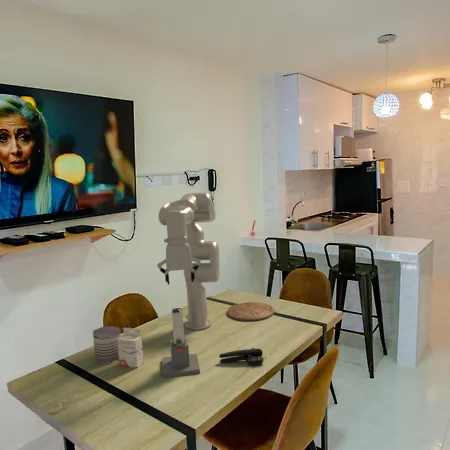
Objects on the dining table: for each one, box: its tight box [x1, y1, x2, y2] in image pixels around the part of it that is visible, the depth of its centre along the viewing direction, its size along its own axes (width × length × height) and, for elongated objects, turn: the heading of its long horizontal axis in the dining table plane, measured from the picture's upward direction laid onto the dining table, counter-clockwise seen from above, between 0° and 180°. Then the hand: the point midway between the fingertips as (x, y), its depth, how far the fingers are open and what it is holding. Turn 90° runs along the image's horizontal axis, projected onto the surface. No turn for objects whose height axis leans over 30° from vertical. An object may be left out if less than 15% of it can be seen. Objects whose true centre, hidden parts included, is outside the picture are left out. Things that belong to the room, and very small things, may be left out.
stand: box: [162, 338, 201, 378], centre depth 164 cm, size 14×14×11 cm
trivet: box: [226, 301, 275, 322], centre depth 222 cm, size 25×25×2 cm
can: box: [92, 326, 122, 364], centre depth 176 cm, size 11×11×12 cm
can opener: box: [218, 347, 264, 366], centre depth 167 cm, size 18×7×6 cm, turn 85°
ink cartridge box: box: [118, 327, 144, 368], centre depth 168 cm, size 9×5×15 cm, turn 71°
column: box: [171, 307, 185, 346], centre depth 163 cm, size 4×4×17 cm
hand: (180, 282), depth 168 cm, fingers open, 9 cm apart
